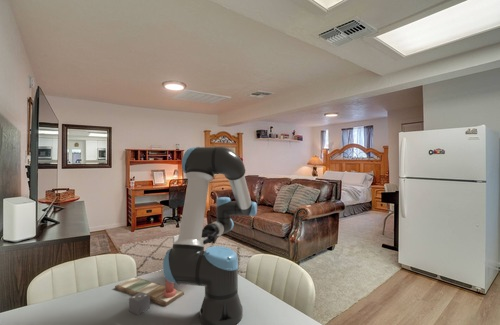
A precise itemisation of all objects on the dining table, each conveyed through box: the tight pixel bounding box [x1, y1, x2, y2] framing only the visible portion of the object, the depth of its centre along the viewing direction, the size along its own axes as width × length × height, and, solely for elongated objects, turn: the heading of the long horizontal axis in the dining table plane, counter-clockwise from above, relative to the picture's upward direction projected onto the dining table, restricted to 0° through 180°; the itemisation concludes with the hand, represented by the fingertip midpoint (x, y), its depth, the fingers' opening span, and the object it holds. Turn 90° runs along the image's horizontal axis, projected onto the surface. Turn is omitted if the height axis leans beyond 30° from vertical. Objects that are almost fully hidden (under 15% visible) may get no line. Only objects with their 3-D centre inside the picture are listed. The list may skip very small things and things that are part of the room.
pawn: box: [163, 279, 177, 298], centre depth 101 cm, size 5×5×12 cm
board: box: [114, 276, 185, 307], centre depth 107 cm, size 30×10×1 cm, turn 63°
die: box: [128, 292, 151, 316], centre depth 93 cm, size 5×5×5 cm
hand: (185, 242), depth 110 cm, fingers open, 13 cm apart
